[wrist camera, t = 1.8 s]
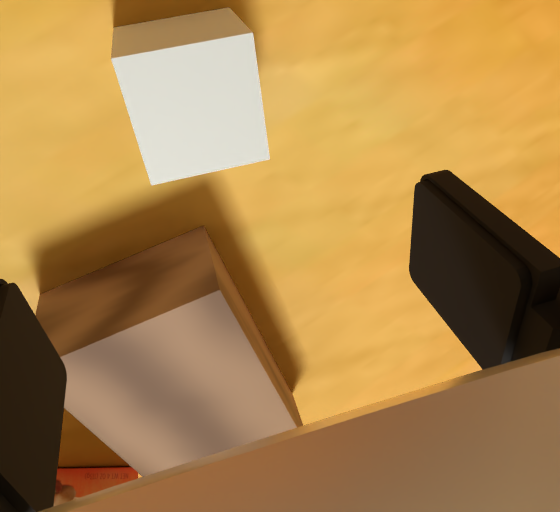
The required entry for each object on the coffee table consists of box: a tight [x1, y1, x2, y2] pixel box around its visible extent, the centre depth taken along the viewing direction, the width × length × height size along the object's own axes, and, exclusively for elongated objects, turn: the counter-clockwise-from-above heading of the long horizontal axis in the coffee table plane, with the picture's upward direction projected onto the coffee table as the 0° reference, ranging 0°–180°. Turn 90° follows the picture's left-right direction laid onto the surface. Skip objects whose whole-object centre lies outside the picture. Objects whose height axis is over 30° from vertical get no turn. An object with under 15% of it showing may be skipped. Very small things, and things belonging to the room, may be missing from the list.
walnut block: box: [36, 226, 303, 477], centre depth 31 cm, size 10×18×6 cm, turn 18°
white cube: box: [111, 7, 270, 185], centre depth 20 cm, size 5×5×5 cm
